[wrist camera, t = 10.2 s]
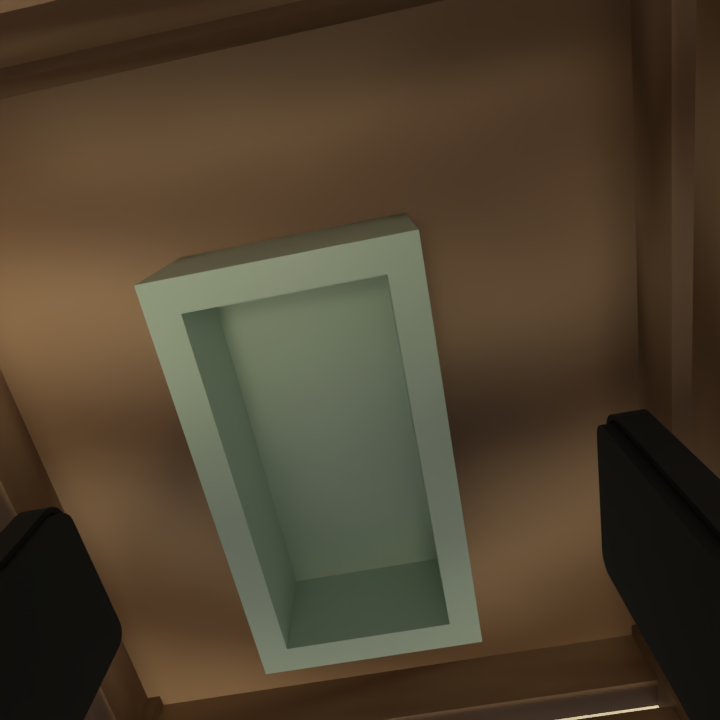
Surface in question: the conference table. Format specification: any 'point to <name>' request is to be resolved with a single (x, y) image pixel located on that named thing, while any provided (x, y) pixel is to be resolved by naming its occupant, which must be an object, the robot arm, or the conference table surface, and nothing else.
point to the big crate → (446, 293)
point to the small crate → (321, 439)
